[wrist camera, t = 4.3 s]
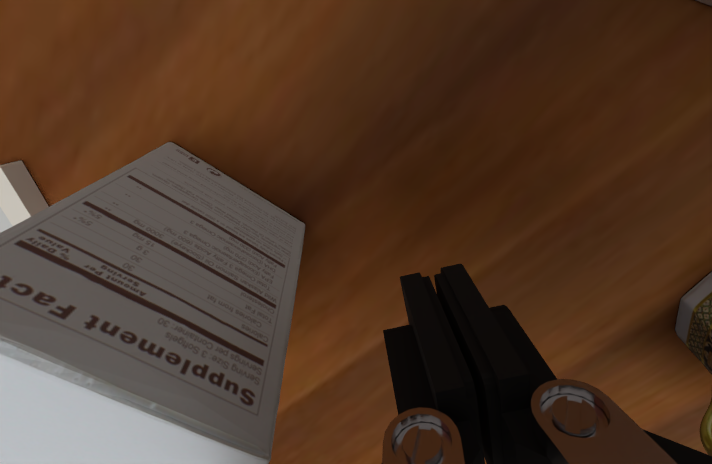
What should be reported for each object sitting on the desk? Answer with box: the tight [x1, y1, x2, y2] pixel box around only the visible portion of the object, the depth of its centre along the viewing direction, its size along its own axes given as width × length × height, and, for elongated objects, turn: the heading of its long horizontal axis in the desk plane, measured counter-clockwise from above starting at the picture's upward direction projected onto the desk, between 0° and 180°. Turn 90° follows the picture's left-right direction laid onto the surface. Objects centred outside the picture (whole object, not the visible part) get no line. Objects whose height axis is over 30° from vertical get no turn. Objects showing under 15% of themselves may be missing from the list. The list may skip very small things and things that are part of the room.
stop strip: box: [0, 160, 49, 226], centre depth 19 cm, size 1×11×1 cm, turn 12°
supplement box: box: [0, 142, 305, 464], centre depth 14 cm, size 7×7×13 cm
